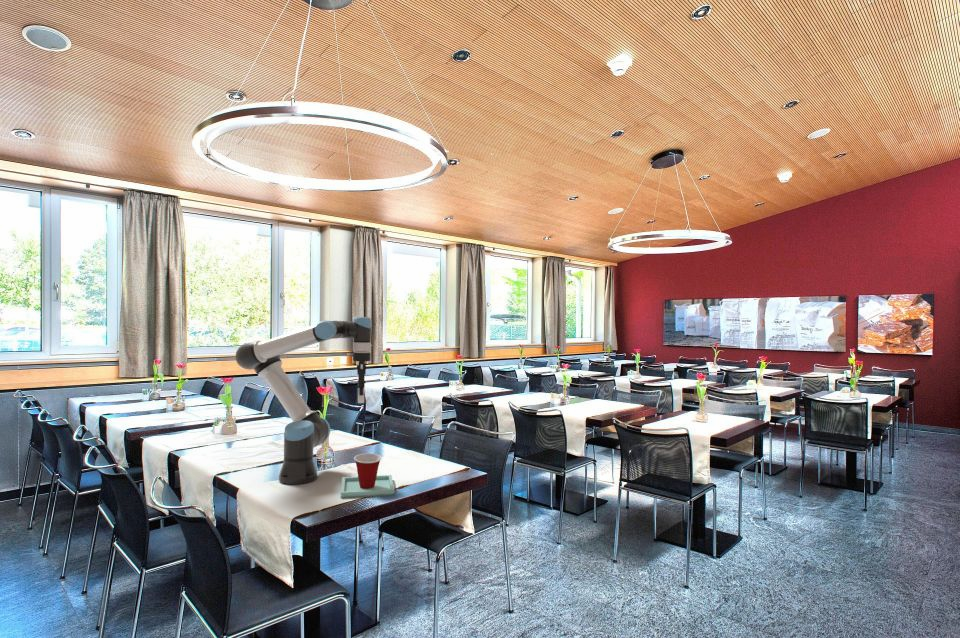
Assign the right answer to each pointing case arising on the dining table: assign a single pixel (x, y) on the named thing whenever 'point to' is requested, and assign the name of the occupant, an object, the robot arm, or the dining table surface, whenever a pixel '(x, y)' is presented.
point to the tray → (380, 488)
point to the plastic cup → (367, 469)
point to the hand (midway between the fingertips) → (360, 400)
